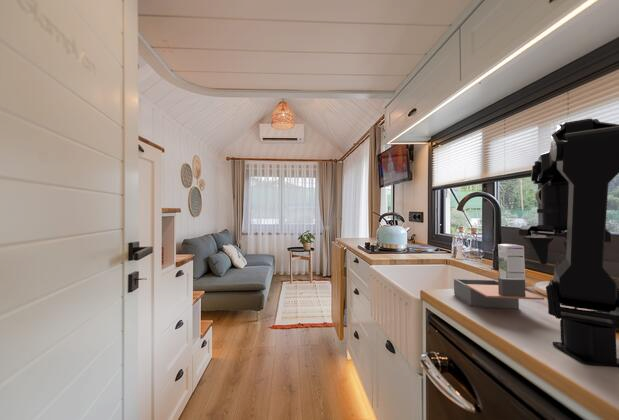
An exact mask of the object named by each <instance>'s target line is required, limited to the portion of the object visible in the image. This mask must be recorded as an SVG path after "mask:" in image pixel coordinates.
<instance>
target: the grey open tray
mask: <svg viewBox="0 0 619 420" xmlns="http://www.w3.org/2000/svg"><path fill="white" fill-rule="evenodd" d="M466 284H478V285H498V280H496V279H473V278H472V279H468V278H467V279H465V278H453V295H454V294H455V295H456V296H455V295H454V296H455V297H456V298H458V299H459V298H460V300H461V301H462V300H463V302H464V303H466V304H467V305H468V306H469V307H476V308H477V307H480V308H499V309H500V308H501V309H520V299H514V298H489V297H485V296H484V295H482V294H480V293H478V292H476V291H475V290H473V289H471V288H469V287H467V286H466Z"/></svg>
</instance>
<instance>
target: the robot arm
mask: <svg viewBox="0 0 619 420" xmlns="http://www.w3.org/2000/svg"><path fill="white" fill-rule="evenodd" d="M549 149H550V150H549V151H546V152H544V153H541V154H540V155H539V156H538V159H537V160H536V161H534V162H533V165H532V167H531V174H530V175H531V176H530V181H531V182H533V185H540V188H539V189H537V191H536V193H535V201H536V202H538V204H539V205H541V207H540V208H537V209H536V213H537V214H541V224H537V225H521V226H520V227H519V228H518V236H521V237H522V239H523V240H525V242H526V243H527V245H528V246H529V248H530V249H531V250H532V252H533V253H534V256H535V257H536V258H537V260H538V262H539V263H540V264H541V265H543V266H544V265H547V263H548V257H549V256H548V255H549V244H550V243H551V242H552V241H553V240H554V239H555V238H554V237H558V238H559V237H561V238H562V237H563V238H565V240H566V241H563V245H564V249H565V251H566V252H565V254H566V256H565V258H564V259H563V261H558V262H556V263H555V264H554V268H553V279H549V282H548V285H546V286H545V290H546V298H547V308H548V310H547V314H549V315H551V316H553V317H555V318H556V319H557V320H558V319H559V320H560V321H559V323H560V324H559V325H560V327H559V328H560V341H552V345H553V346H554V347H556V348H557V349H560V350H561V351H562V352H564V353H565V354H567V355H570V356H571V357H573V358H575V359H576V360H578V361H580V363H583V364H586V365H597V366H612V367H619V357H617V356H618V355H617V332H616V331H617V329H619V288H618V285H617V283H616V282H615V280H614V279H613V278H612V277H611V275H610V274H609V273H608V272H607V271H606V269H605V268H604V257H605V245H606V243H611V242H612V232H610V231H609V230H608V229H607V228H606V223H607V209H608V197H609V196H608V195H609V194H608V193H609V183H610V182H612V181H613V180H614V179H615V177H617V176H618V175H619V124H618V123H612V122H611V123H610V122H604V121H602V122H601V121H599V119H598V118H584V119H580V120H579V119H577V120H572V121H565V122H563V123H561V124H558V125H557V127H556V131H555V132H553V133H552V134H551V139H550V148H549Z"/></svg>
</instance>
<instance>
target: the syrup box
mask: <svg viewBox="0 0 619 420" xmlns="http://www.w3.org/2000/svg"><path fill="white" fill-rule="evenodd" d="M497 249H498V250H497V252H498V278H521V279H524V280H525V281H526V265H525V246H524V245H519V244H514V243H500V244H499V243H498V244H497ZM526 285H527V284H525V288H526Z"/></svg>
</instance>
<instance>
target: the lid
mask: <svg viewBox="0 0 619 420" xmlns="http://www.w3.org/2000/svg"><path fill="white" fill-rule="evenodd" d="M497 281H498V285H478V284H466V286H467V287H469V288H471V289H473V290H475V291H476V292H478V293H480V294H482V295H484V296H485V297H489V298H514V299H519V300H520V299H521V300H541V301H542V300H543V301H544V300H545V298H544V297H542V296H540V295H538V294H535V293H533V292H530V291H528V290H526V287H525V285H526V279H525V280H524V279H521V278H499V277H498V278H497Z"/></svg>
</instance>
